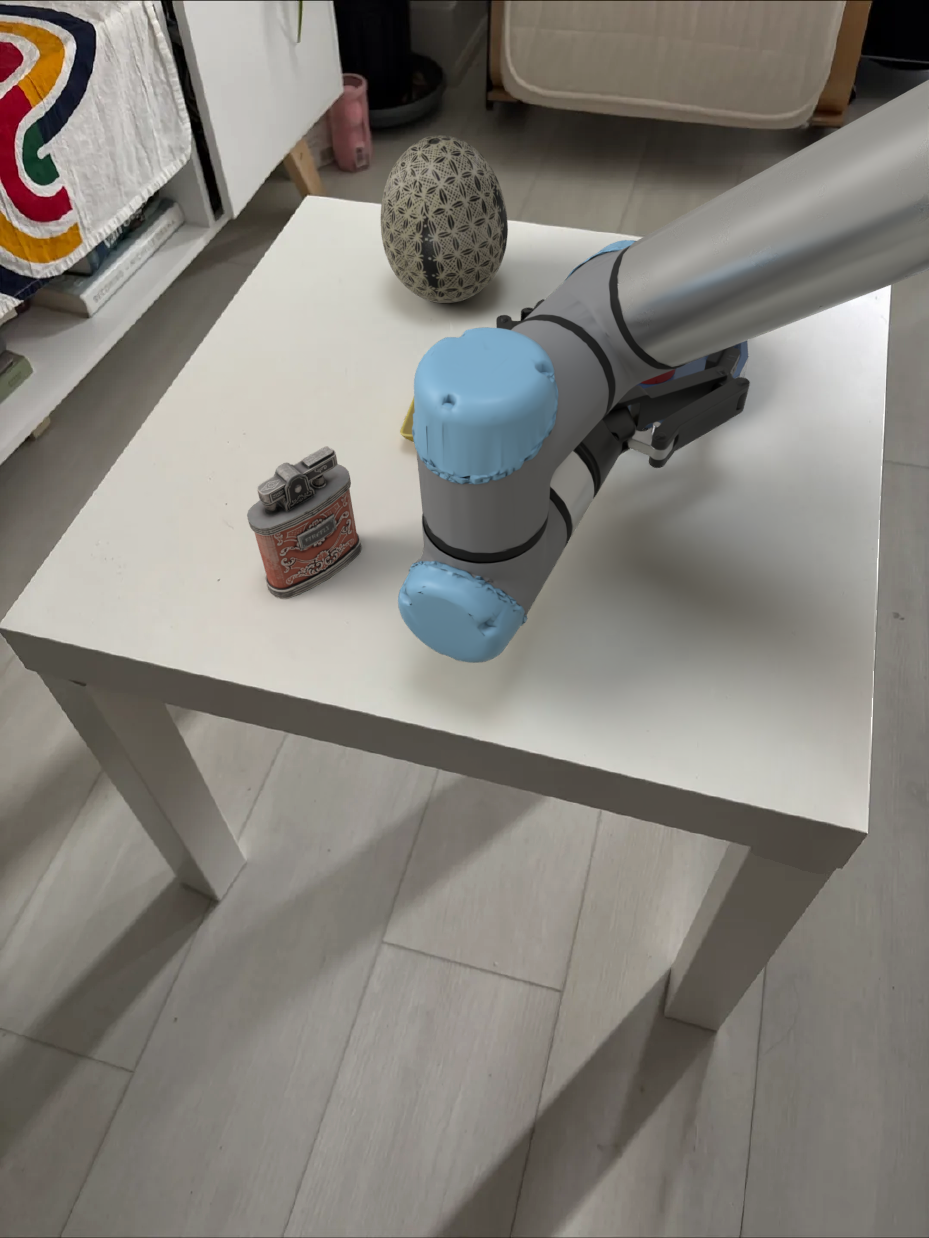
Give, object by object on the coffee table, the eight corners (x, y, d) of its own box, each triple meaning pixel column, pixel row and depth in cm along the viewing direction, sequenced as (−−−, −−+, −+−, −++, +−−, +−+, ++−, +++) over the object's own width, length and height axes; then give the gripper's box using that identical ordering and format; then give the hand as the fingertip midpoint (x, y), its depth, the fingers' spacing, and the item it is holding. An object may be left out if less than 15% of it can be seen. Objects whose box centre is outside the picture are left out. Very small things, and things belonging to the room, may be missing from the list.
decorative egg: (495, 335, 90) (494, 178, 79) (374, 323, 92) (356, 168, 80) (516, 266, 98) (518, 113, 86) (404, 256, 99) (391, 104, 87)
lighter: (283, 606, 71) (257, 509, 63) (258, 581, 72) (228, 483, 64) (371, 551, 74) (355, 452, 66) (344, 528, 75) (326, 428, 68)
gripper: (393, 461, 73) (511, 311, 85) (712, 565, 66) (793, 386, 78) (384, 380, 68) (512, 231, 79) (733, 485, 60) (817, 304, 72)
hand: (651, 308), depth 78 cm, fingers open, 13 cm apart
